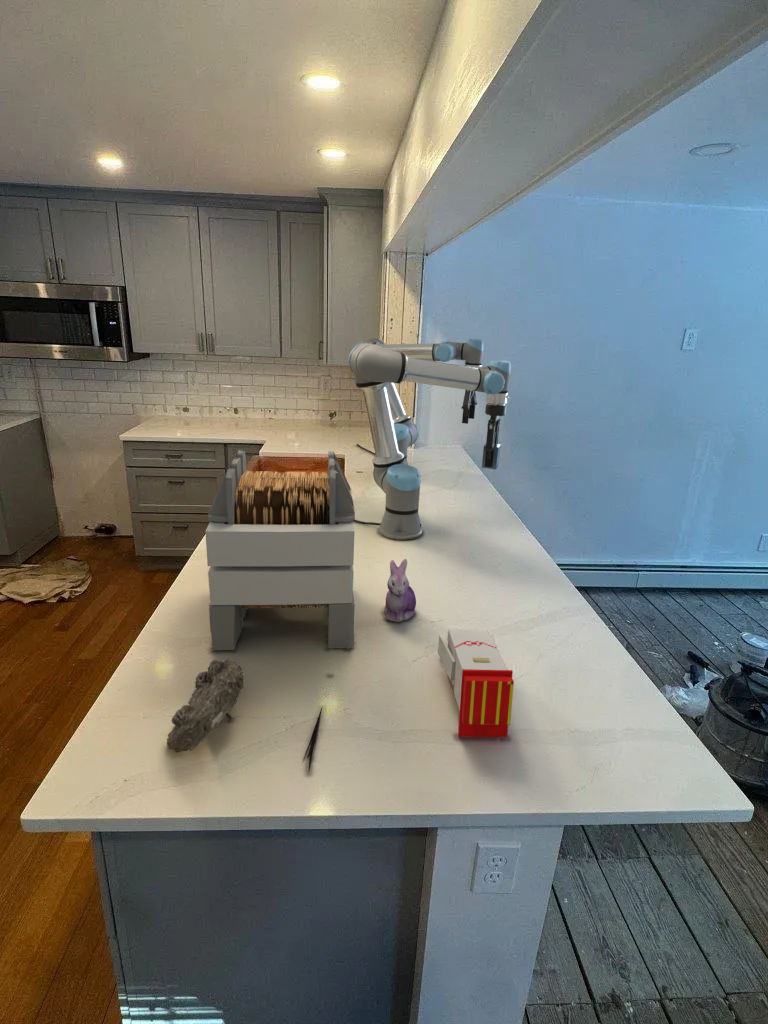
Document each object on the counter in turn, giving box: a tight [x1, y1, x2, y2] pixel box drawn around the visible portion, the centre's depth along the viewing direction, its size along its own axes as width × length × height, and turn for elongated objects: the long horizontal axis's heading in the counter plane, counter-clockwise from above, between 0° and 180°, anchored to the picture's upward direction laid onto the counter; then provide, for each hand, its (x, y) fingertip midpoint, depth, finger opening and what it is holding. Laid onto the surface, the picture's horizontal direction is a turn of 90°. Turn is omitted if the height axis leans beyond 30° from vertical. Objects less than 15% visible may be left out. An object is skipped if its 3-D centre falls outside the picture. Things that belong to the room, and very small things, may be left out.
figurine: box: [384, 558, 417, 623], centre depth 145 cm, size 9×10×15 cm
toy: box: [437, 628, 515, 738], centre depth 117 cm, size 12×13×30 cm
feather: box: [301, 673, 332, 771], centre depth 108 cm, size 2×28×2 cm
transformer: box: [204, 449, 356, 652], centre depth 138 cm, size 34×33×41 cm
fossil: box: [166, 658, 245, 754], centre depth 106 cm, size 22×10×15 cm
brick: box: [481, 443, 502, 471], centre depth 215 cm, size 5×6×9 cm
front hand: (489, 464), depth 217 cm, fingers closed on brick, 5 cm apart
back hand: (468, 420), depth 264 cm, fingers open, 13 cm apart
